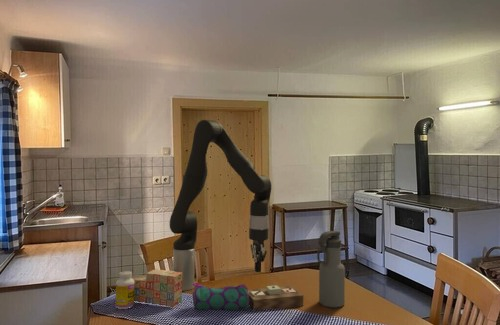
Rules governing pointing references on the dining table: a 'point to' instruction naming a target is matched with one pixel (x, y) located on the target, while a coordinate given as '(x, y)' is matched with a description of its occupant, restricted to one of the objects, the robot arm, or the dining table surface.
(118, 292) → the supplement bottle
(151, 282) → the stack of blocks
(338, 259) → the water bottle
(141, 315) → the dining table surface
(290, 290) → the button two dots
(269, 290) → the button one dot
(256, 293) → the button three dots
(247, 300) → the pencil case
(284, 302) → the button panel
